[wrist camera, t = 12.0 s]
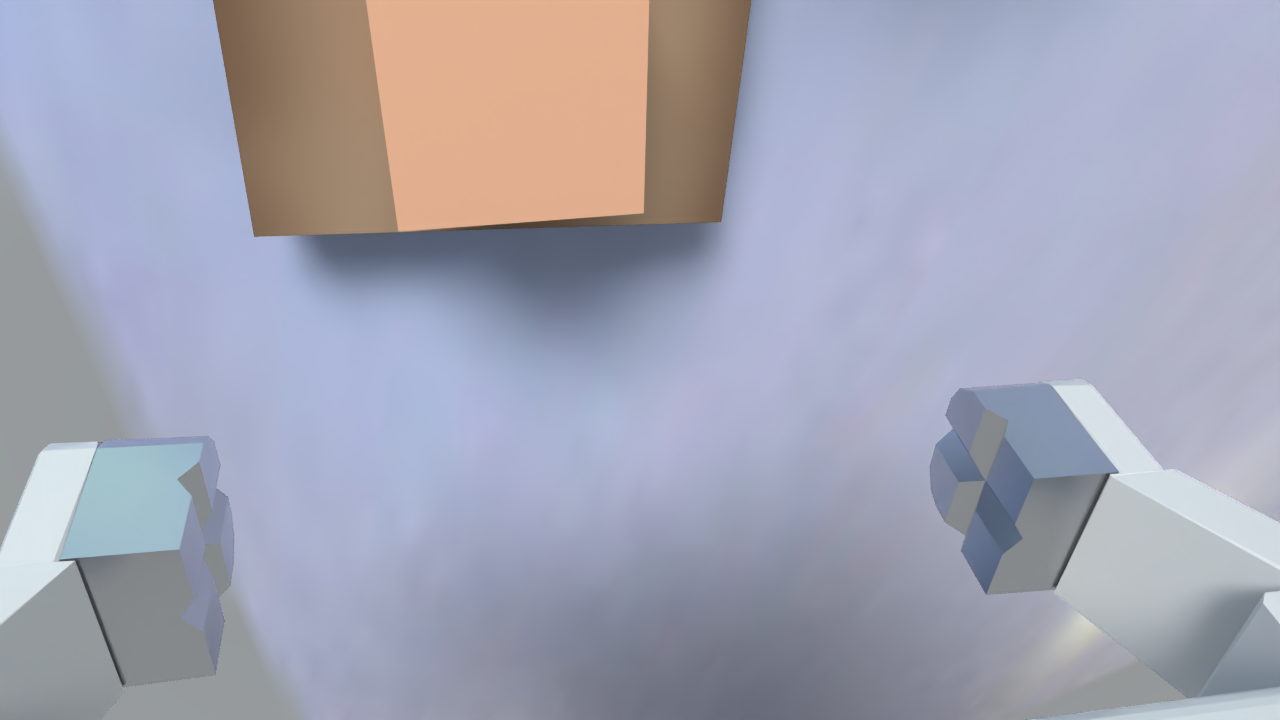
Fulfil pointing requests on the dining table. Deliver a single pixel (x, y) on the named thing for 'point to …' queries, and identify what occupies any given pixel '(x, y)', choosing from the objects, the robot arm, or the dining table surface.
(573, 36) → the cube
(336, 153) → the base slab
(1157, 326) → the dining table surface
